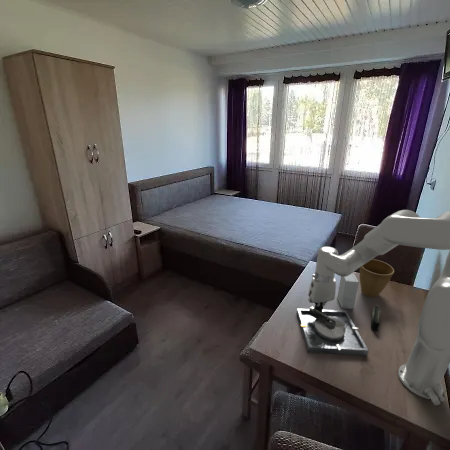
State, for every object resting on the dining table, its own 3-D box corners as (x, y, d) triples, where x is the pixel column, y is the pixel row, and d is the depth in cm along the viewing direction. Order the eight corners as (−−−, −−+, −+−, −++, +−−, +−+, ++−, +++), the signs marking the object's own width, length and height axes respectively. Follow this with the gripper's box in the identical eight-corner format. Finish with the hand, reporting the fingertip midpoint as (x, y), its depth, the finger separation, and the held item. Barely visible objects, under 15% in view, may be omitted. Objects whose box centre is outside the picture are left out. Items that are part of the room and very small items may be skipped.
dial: (350, 330, 109) (352, 320, 107) (335, 345, 102) (337, 334, 100) (316, 311, 120) (318, 301, 118) (301, 323, 113) (302, 312, 111)
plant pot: (349, 284, 143) (355, 258, 137) (376, 285, 143) (384, 259, 137) (361, 301, 129) (368, 273, 123) (392, 303, 129) (400, 275, 123)
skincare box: (353, 309, 124) (360, 282, 118) (340, 307, 125) (346, 281, 119) (348, 298, 132) (354, 272, 126) (336, 297, 133) (341, 271, 127)
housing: (369, 357, 99) (371, 351, 98) (306, 353, 100) (307, 347, 99) (346, 314, 121) (347, 309, 120) (294, 311, 121) (295, 306, 120)
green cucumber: (381, 324, 109) (380, 303, 121) (372, 321, 110) (373, 300, 122) (378, 333, 111) (378, 311, 123) (370, 330, 112) (370, 309, 124)
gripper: (312, 282, 104) (306, 319, 111) (346, 279, 107) (338, 315, 114) (303, 272, 111) (298, 308, 118) (335, 269, 114) (329, 304, 120)
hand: (318, 311), depth 116 cm, fingers closed
